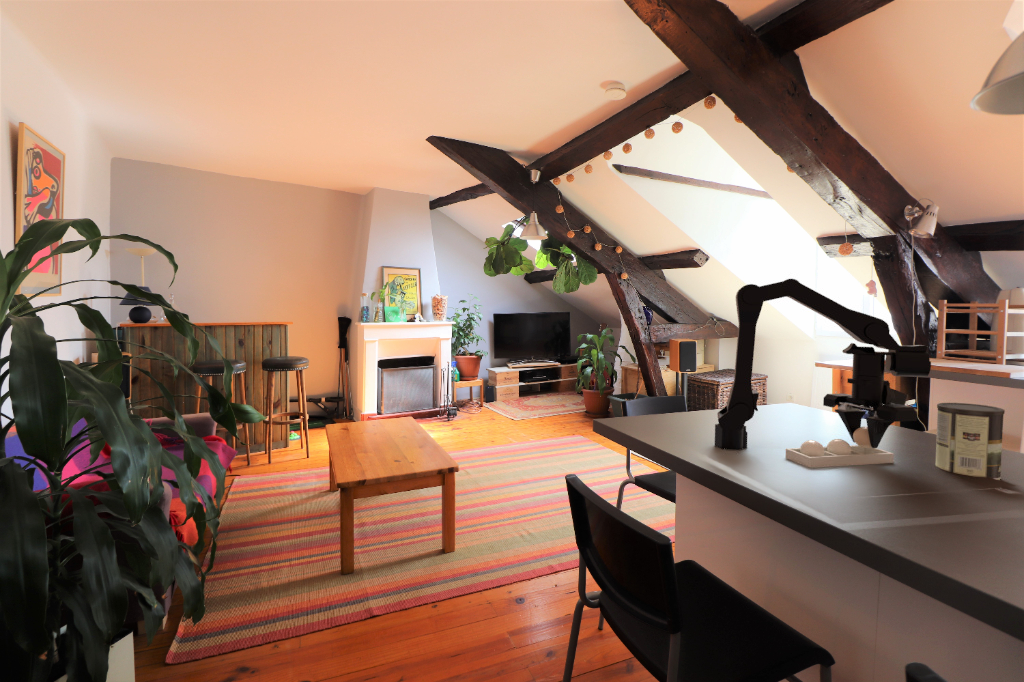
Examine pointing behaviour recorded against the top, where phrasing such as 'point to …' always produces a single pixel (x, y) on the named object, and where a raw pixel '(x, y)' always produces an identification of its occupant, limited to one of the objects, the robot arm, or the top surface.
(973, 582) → the top surface
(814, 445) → the cream egg
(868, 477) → the top surface
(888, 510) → the top surface
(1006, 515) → the top surface
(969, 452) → the coffee can
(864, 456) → the carton
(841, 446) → the cream egg
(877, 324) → the robot arm
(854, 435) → the brown egg
